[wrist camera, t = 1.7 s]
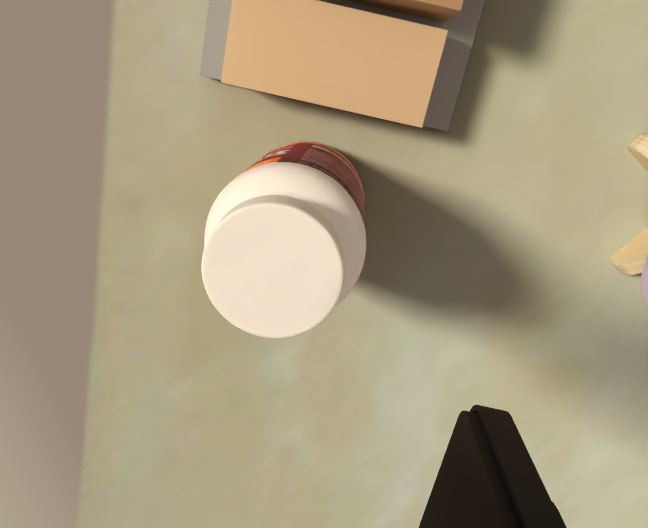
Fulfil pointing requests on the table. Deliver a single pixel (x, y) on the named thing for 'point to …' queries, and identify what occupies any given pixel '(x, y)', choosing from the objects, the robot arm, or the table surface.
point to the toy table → (644, 249)
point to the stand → (347, 53)
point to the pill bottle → (286, 240)
